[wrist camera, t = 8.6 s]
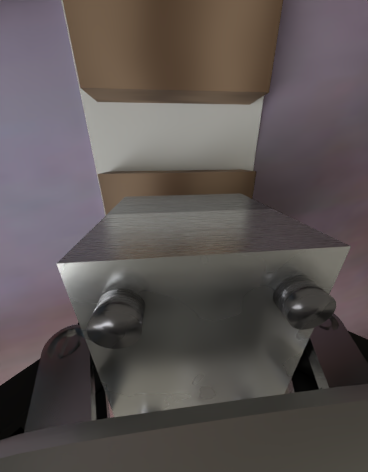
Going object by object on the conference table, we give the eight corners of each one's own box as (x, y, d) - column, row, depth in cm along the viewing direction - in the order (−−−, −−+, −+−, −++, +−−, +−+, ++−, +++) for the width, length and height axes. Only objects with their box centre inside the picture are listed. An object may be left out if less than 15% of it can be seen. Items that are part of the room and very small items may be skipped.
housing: (240, 193, 9) (382, 262, 3) (225, 314, 13) (276, 449, 7) (125, 196, 9) (34, 285, 3) (143, 321, 12) (124, 475, 6)
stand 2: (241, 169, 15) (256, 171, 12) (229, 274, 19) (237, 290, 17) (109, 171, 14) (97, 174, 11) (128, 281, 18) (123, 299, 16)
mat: (26, -188, 8) (19, -205, 7) (296, -148, 9) (301, -162, 8) (119, 277, 18) (118, 280, 18) (236, 269, 20) (238, 272, 19)
